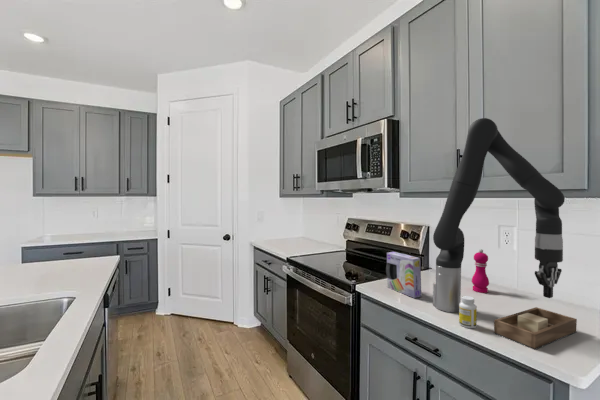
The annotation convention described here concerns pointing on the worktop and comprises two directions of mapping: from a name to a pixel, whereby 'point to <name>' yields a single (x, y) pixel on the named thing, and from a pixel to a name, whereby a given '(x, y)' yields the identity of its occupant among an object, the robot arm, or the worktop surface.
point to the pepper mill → (480, 273)
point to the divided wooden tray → (556, 330)
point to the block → (532, 322)
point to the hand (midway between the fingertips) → (548, 297)
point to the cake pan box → (404, 274)
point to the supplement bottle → (467, 312)
